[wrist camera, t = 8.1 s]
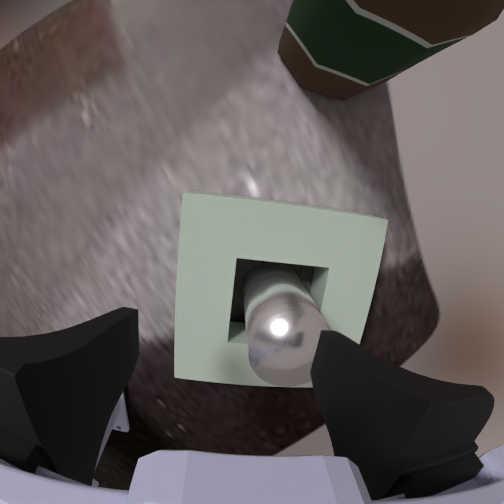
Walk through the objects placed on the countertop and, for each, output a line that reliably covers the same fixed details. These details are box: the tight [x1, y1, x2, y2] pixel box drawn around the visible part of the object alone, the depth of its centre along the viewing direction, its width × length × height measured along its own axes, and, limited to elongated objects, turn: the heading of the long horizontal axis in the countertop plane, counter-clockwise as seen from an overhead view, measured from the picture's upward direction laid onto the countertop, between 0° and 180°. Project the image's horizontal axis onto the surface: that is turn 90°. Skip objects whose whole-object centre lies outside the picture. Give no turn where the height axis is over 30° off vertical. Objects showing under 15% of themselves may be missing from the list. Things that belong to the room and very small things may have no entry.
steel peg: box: [243, 262, 332, 387], centre depth 17 cm, size 4×4×8 cm
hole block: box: [174, 191, 388, 387], centre depth 19 cm, size 12×12×3 cm
